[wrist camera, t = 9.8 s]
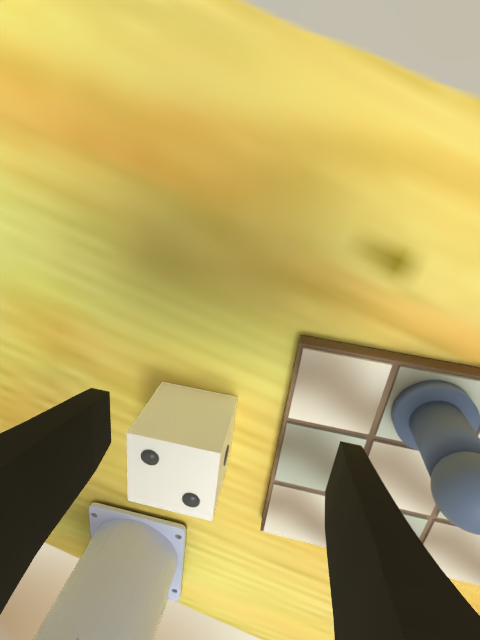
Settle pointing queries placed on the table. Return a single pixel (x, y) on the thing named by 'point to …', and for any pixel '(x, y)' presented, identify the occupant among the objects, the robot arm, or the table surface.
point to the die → (180, 450)
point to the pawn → (444, 446)
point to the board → (372, 434)
